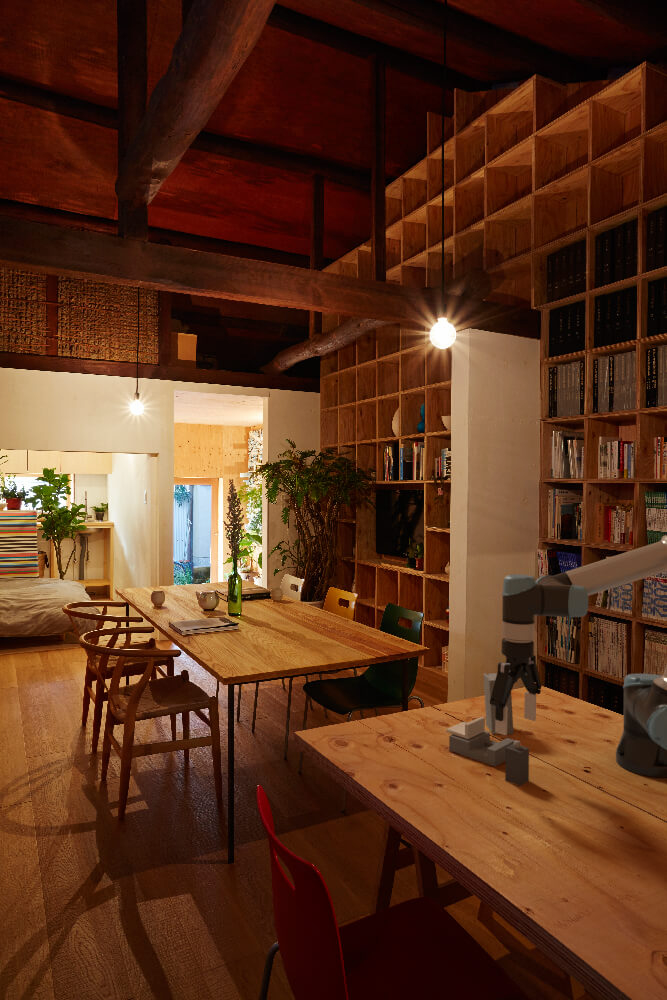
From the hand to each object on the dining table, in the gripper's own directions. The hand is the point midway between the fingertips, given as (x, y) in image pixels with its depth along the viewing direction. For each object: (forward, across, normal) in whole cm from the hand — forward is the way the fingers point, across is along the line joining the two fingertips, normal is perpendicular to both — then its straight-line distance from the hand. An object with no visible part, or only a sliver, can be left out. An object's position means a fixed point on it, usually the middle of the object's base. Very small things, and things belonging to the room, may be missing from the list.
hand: (515, 726), depth 156 cm
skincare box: (+14, -26, -21) cm, 36 cm away
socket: (+13, -8, -15) cm, 21 cm away
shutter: (+9, -8, -20) cm, 23 cm away
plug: (+13, 0, 0) cm, 13 cm away
